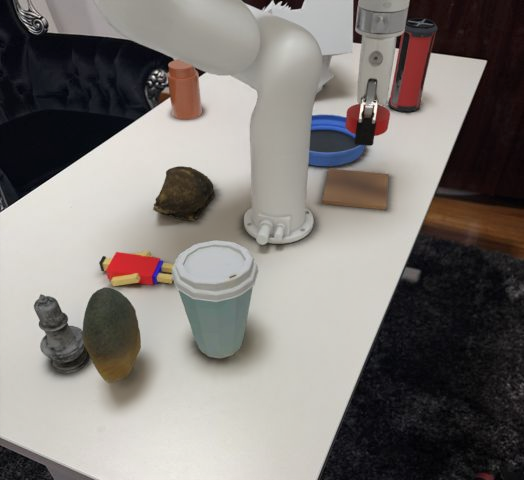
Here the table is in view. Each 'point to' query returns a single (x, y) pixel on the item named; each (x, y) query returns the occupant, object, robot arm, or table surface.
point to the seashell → (184, 193)
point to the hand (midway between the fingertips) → (365, 132)
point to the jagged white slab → (322, 27)
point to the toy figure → (136, 269)
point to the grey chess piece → (60, 337)
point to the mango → (111, 334)
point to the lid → (381, 119)
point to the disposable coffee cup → (216, 293)
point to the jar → (184, 90)
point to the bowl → (332, 141)
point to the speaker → (412, 64)
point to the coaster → (356, 189)
